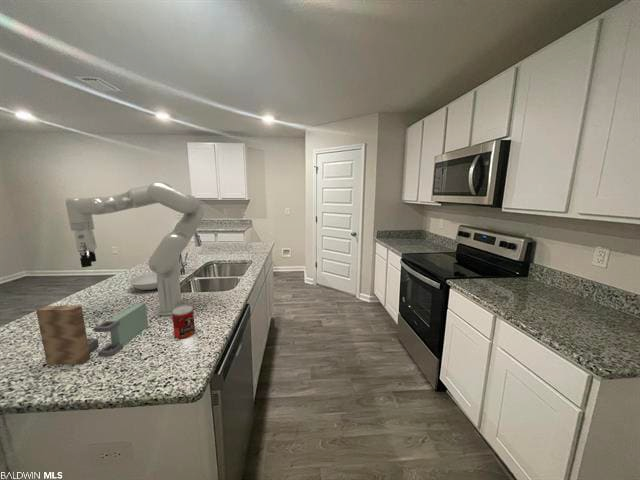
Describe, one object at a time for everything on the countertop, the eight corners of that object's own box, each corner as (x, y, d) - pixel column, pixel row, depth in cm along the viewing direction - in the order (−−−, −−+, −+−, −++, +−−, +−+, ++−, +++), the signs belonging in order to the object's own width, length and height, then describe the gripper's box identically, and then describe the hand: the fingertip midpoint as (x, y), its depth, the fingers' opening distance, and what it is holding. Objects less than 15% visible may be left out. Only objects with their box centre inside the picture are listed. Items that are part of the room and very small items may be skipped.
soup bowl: (150, 280, 169) (149, 271, 168) (182, 282, 166) (182, 272, 165) (117, 293, 146) (116, 283, 145) (154, 296, 143) (153, 285, 142)
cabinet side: (106, 346, 95) (99, 297, 91) (82, 364, 85) (73, 309, 82) (74, 347, 95) (66, 297, 91) (47, 364, 85) (35, 309, 81)
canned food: (181, 341, 99) (178, 315, 97) (170, 335, 103) (167, 310, 101) (199, 332, 105) (197, 308, 104) (188, 327, 110) (186, 303, 108)
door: (150, 326, 110) (147, 302, 108) (112, 356, 90) (108, 327, 88) (139, 326, 110) (136, 302, 108) (98, 356, 90) (93, 327, 88)
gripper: (89, 227, 104) (96, 267, 107) (97, 224, 118) (103, 258, 121) (64, 229, 100) (72, 270, 103) (75, 225, 114) (82, 261, 117)
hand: (89, 264), depth 112 cm, fingers open, 9 cm apart
